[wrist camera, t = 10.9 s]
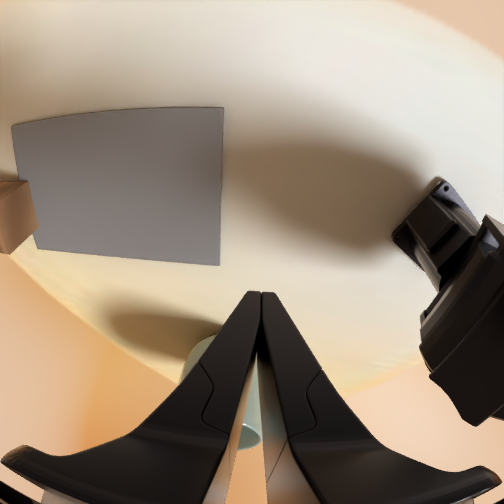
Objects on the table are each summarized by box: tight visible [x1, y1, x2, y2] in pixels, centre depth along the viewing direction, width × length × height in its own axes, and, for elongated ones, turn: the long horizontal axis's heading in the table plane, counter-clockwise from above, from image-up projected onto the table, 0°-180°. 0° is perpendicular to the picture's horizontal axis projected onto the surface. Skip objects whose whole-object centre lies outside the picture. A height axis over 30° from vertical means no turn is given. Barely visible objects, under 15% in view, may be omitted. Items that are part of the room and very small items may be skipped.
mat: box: [11, 107, 224, 266], centre depth 21 cm, size 18×12×1 cm, turn 86°
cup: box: [178, 335, 263, 451], centre depth 27 cm, size 8×8×10 cm
